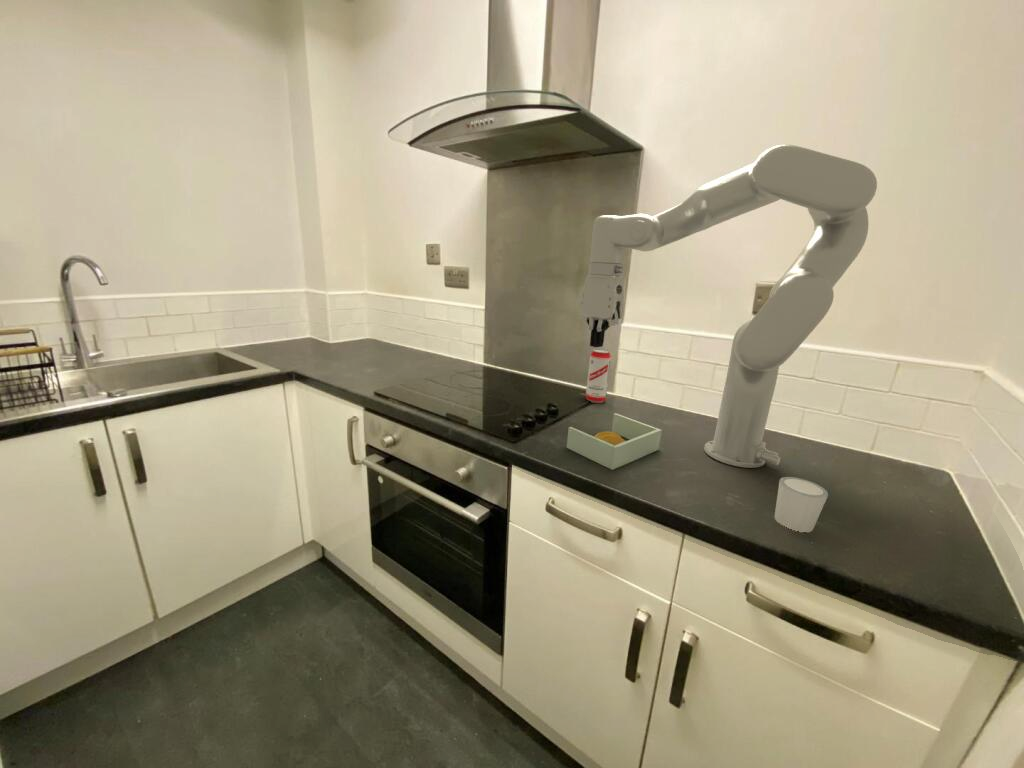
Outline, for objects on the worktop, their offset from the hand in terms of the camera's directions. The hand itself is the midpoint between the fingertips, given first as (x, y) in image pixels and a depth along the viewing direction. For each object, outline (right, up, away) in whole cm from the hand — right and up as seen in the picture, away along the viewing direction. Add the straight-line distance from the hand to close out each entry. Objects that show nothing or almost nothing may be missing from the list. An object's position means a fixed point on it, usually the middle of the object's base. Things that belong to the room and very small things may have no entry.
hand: (596, 346), depth 105 cm
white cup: (+27, -34, -34) cm, 55 cm away
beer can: (+5, -15, +26) cm, 30 cm away
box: (+2, -25, -8) cm, 26 cm away
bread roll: (+1, -25, -9) cm, 27 cm away
